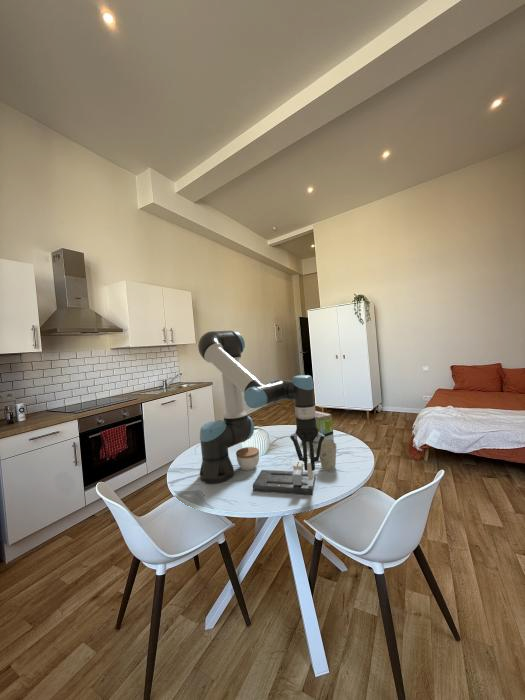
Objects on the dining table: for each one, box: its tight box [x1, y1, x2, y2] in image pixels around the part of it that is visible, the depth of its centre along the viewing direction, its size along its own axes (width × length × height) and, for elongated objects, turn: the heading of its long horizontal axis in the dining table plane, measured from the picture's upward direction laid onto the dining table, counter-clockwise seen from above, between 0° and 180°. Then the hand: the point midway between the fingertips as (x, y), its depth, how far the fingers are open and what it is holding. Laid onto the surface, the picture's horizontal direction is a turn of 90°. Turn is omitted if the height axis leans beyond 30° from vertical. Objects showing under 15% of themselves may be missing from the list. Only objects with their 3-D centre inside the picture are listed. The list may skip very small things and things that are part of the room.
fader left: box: [293, 461, 304, 474], centre depth 114 cm, size 3×4×4 cm
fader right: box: [293, 469, 303, 485], centre depth 107 cm, size 3×4×4 cm
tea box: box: [313, 410, 335, 444], centre depth 160 cm, size 15×10×15 cm, turn 32°
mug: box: [308, 441, 337, 471], centre depth 125 cm, size 8×13×10 cm, turn 78°
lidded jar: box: [235, 446, 260, 471], centre depth 130 cm, size 11×11×9 cm
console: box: [252, 469, 316, 496], centre depth 112 cm, size 23×13×3 cm, turn 74°
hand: (310, 478), depth 106 cm, fingers closed
